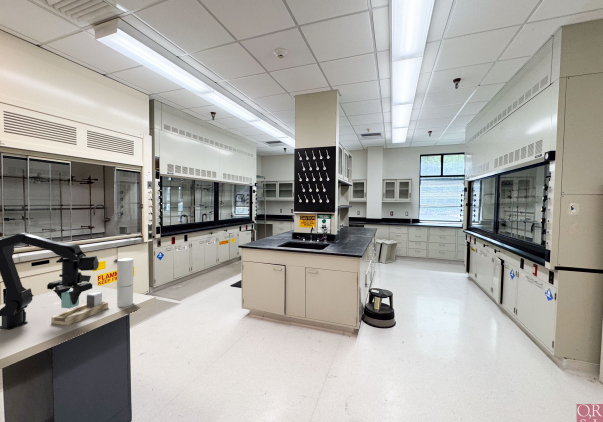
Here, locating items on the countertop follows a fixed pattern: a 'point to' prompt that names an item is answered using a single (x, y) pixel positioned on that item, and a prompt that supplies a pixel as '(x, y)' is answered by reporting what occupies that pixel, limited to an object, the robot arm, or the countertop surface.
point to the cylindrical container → (125, 282)
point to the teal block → (67, 300)
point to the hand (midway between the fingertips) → (69, 303)
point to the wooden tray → (77, 314)
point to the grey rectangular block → (94, 299)
